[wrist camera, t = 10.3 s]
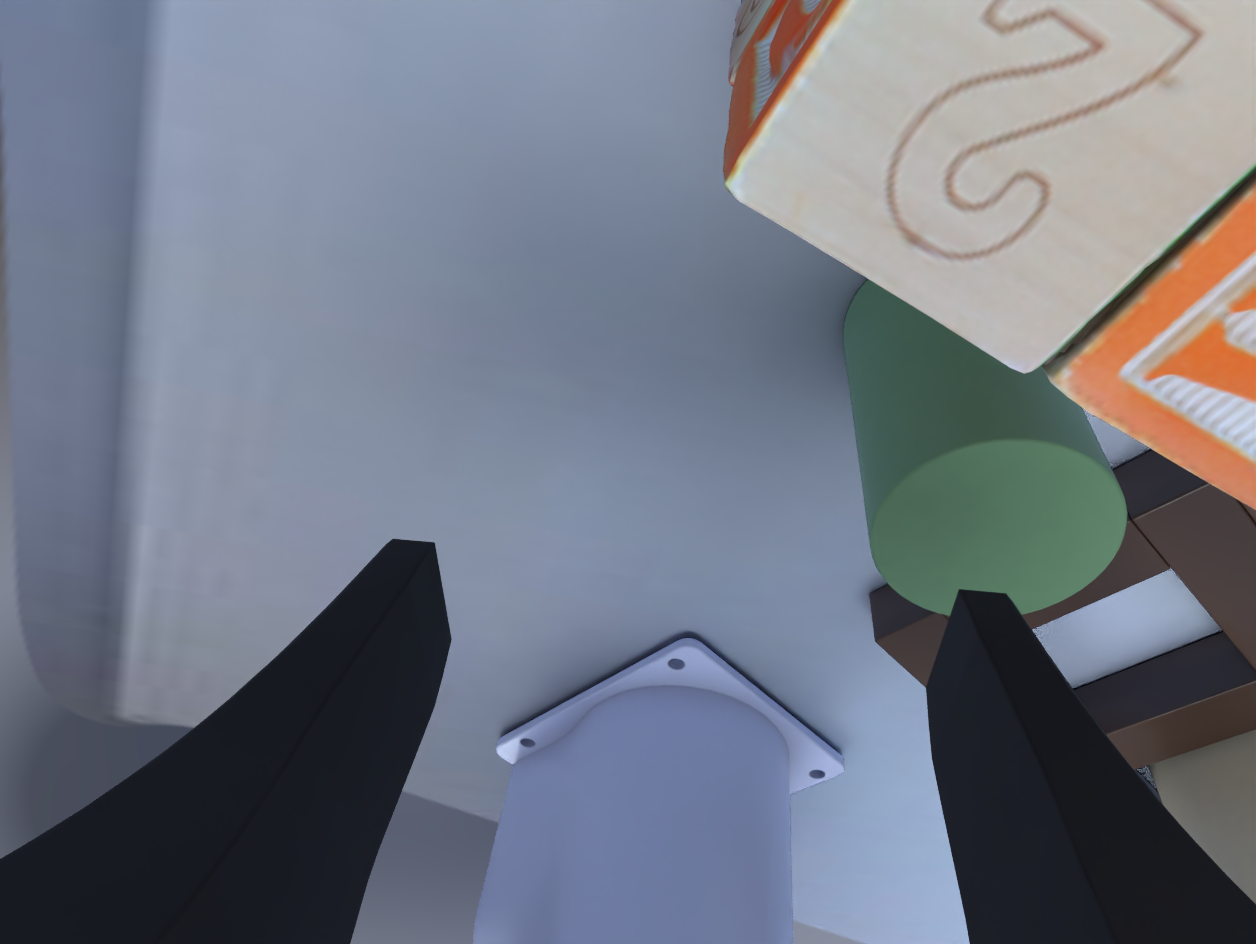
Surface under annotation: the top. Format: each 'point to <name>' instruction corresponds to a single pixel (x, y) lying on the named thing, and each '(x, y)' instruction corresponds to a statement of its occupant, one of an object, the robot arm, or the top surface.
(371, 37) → the top surface
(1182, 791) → the cream peg
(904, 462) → the green peg
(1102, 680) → the rack
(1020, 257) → the stack of blocks
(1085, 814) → the robot arm
